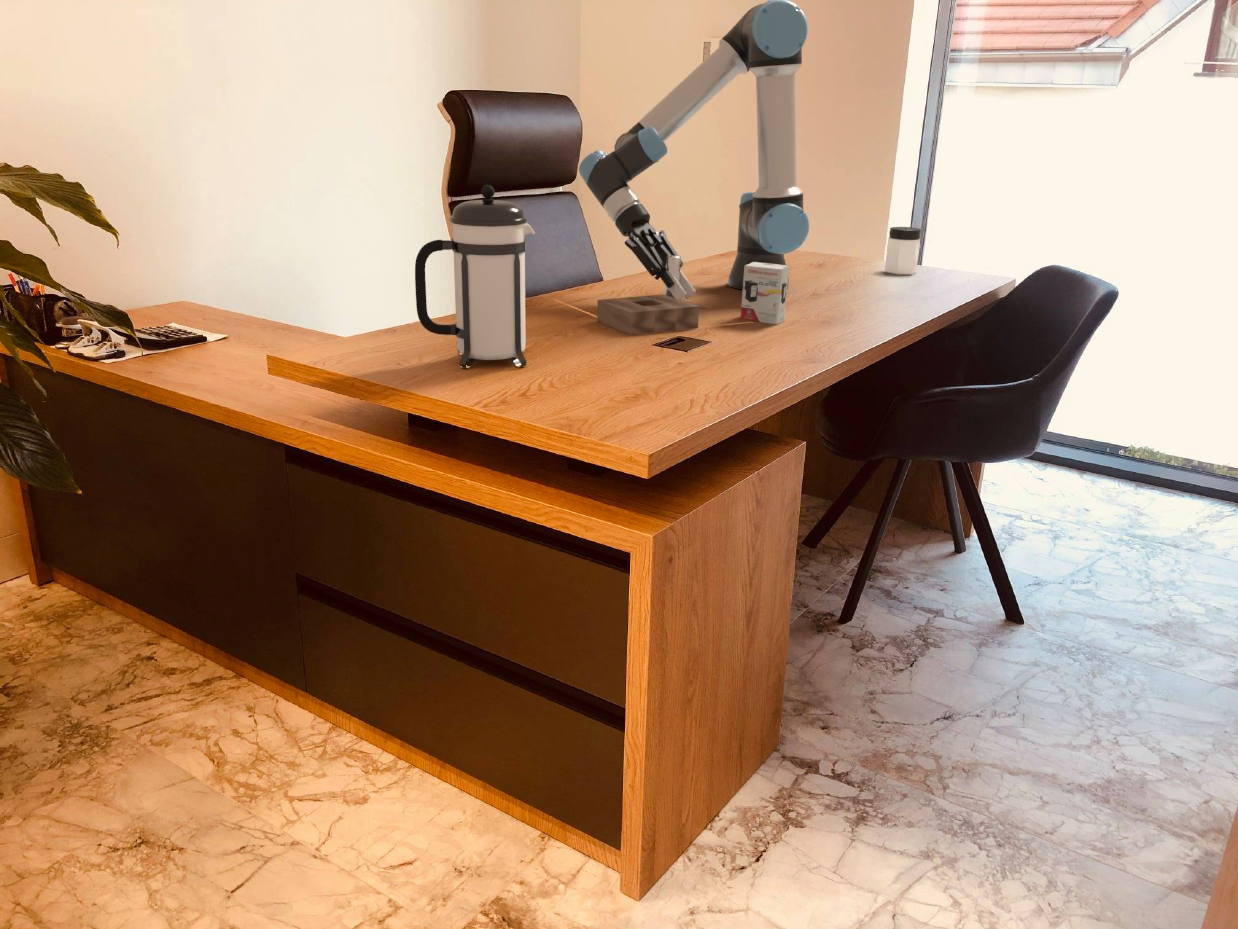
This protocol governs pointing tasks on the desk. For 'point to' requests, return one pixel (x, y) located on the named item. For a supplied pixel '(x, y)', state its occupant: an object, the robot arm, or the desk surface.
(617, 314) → the hole block
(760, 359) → the desk surface
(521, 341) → the coffee press
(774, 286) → the ink box
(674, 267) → the silver rounded cylinder
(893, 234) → the jar
